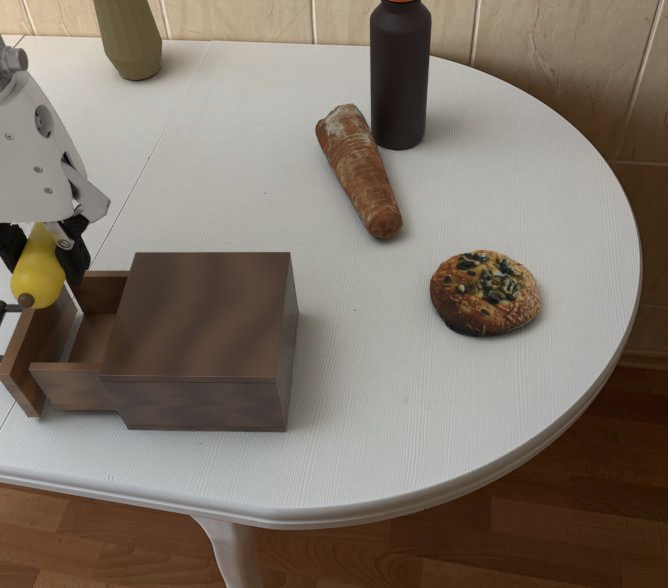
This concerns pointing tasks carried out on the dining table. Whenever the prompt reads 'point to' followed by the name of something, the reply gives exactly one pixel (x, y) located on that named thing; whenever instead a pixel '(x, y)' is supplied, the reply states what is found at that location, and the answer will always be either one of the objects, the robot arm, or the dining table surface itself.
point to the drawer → (63, 347)
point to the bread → (359, 169)
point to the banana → (37, 271)
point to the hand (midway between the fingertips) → (54, 271)
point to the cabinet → (204, 342)
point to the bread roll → (484, 293)
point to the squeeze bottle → (130, 37)
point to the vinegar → (399, 72)
